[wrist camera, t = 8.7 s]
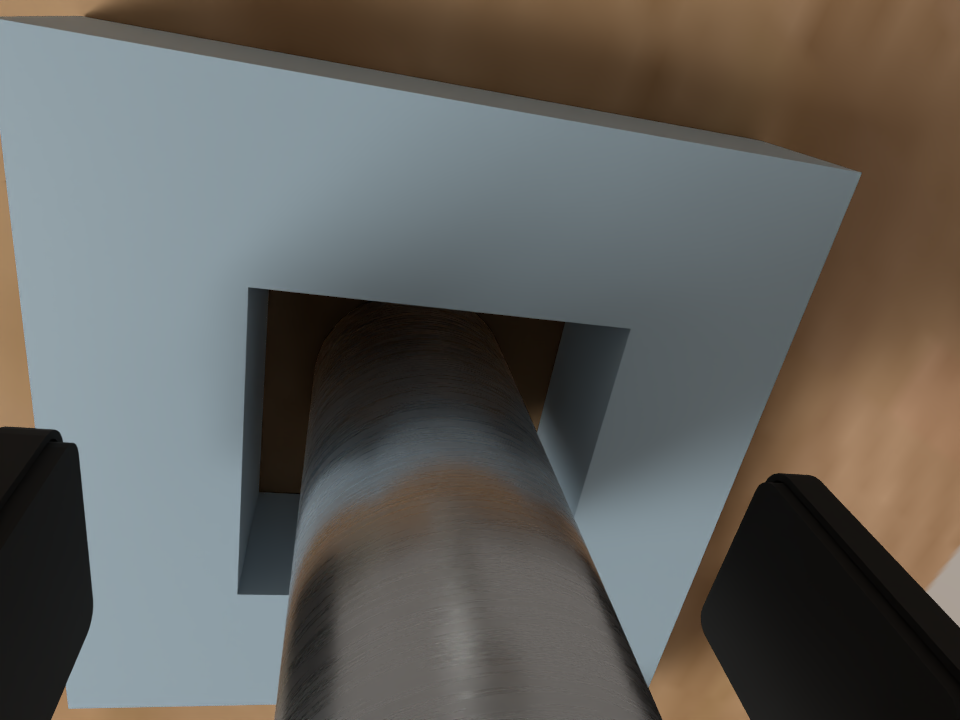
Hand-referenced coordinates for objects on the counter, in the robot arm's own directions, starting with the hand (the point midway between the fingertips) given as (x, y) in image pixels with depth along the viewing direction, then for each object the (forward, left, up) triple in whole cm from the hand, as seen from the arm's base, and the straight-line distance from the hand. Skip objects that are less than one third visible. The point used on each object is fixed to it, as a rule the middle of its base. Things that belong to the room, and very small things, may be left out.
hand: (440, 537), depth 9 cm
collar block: (+1, 0, -5) cm, 5 cm away
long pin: (0, 0, -5) cm, 5 cm away
